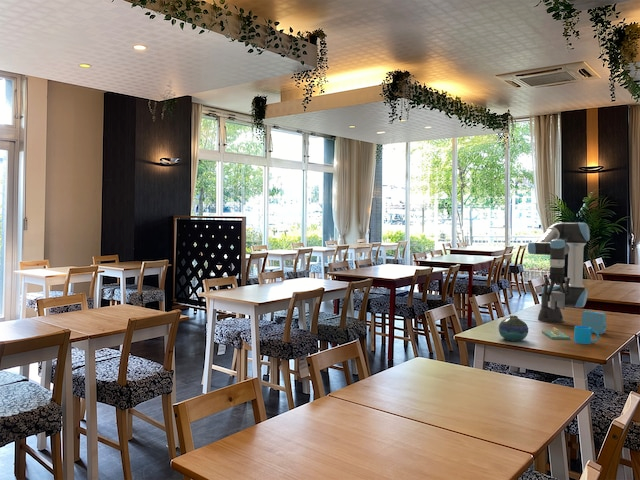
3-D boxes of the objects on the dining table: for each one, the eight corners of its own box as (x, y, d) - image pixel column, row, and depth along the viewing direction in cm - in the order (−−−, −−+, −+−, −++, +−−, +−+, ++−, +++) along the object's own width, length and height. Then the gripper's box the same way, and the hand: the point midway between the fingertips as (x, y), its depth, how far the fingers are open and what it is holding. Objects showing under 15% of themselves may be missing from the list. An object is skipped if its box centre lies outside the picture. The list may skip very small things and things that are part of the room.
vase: (525, 344, 262) (526, 319, 262) (495, 340, 270) (495, 316, 270) (530, 339, 275) (530, 315, 275) (501, 335, 283) (502, 312, 283)
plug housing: (547, 306, 287) (548, 290, 287) (558, 306, 286) (559, 291, 286) (553, 309, 278) (553, 293, 278) (564, 309, 277) (565, 293, 277)
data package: (605, 333, 290) (606, 313, 290) (603, 334, 287) (603, 314, 287) (584, 330, 299) (584, 310, 299) (581, 331, 296) (581, 311, 296)
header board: (541, 332, 291) (541, 325, 291) (559, 333, 290) (559, 325, 290) (551, 339, 276) (551, 331, 275) (570, 339, 274) (570, 332, 274)
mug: (572, 342, 269) (573, 327, 268) (575, 339, 275) (576, 324, 275) (597, 345, 261) (598, 330, 261) (600, 343, 268) (600, 328, 267)
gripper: (541, 267, 279) (540, 308, 280) (577, 267, 277) (576, 308, 278) (537, 265, 286) (536, 305, 287) (572, 266, 284) (570, 306, 285)
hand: (556, 307), depth 282 cm, fingers closed on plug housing, 6 cm apart
